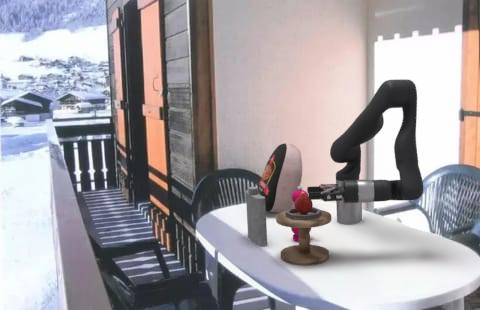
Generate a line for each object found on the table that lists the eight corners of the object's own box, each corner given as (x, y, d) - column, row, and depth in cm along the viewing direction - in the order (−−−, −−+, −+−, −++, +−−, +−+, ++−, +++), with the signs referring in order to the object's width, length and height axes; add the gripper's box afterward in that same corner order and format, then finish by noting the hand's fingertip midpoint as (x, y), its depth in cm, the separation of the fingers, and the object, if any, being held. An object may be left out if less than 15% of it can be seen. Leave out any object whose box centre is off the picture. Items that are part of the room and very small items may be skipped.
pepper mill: (314, 237, 202) (312, 184, 199) (308, 243, 196) (306, 188, 193) (295, 235, 206) (293, 183, 202) (288, 241, 199) (286, 187, 196)
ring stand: (312, 244, 195) (311, 201, 192) (343, 258, 179) (342, 212, 176) (268, 254, 187) (265, 209, 184) (296, 270, 171) (294, 221, 168)
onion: (314, 213, 182) (313, 190, 181) (310, 218, 177) (310, 193, 176) (297, 213, 184) (296, 189, 183) (293, 217, 179) (292, 193, 178)
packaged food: (253, 207, 250) (250, 142, 246) (295, 203, 254) (292, 139, 249) (264, 220, 229) (261, 148, 225) (309, 215, 233) (307, 145, 228)
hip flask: (268, 245, 196) (266, 191, 193) (257, 247, 195) (255, 192, 192) (254, 233, 211) (252, 182, 208) (244, 235, 210) (242, 183, 207)
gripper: (355, 175, 185) (306, 177, 186) (361, 184, 170) (308, 186, 172) (355, 197, 186) (307, 199, 187) (361, 208, 172) (309, 209, 173)
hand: (307, 193), depth 179 cm, fingers open, 8 cm apart
